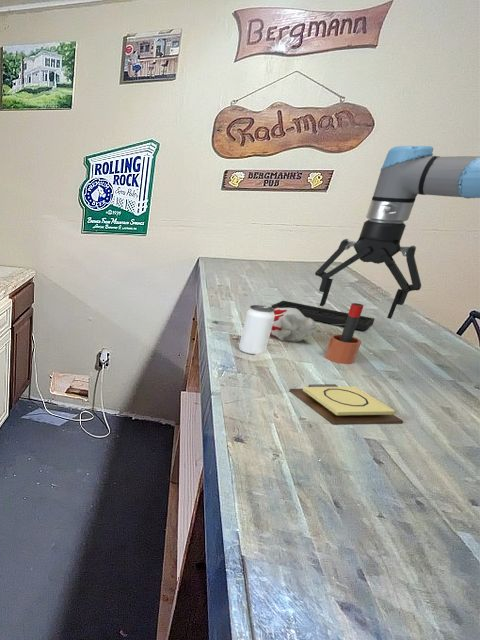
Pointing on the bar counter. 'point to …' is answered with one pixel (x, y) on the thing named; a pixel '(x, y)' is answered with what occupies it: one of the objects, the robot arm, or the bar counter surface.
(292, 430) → the bar counter surface
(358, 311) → the marker
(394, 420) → the clipboard
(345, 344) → the pen cup
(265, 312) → the can
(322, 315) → the black long bar
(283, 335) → the grey lumpy piece
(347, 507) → the bar counter surface
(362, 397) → the notepad
